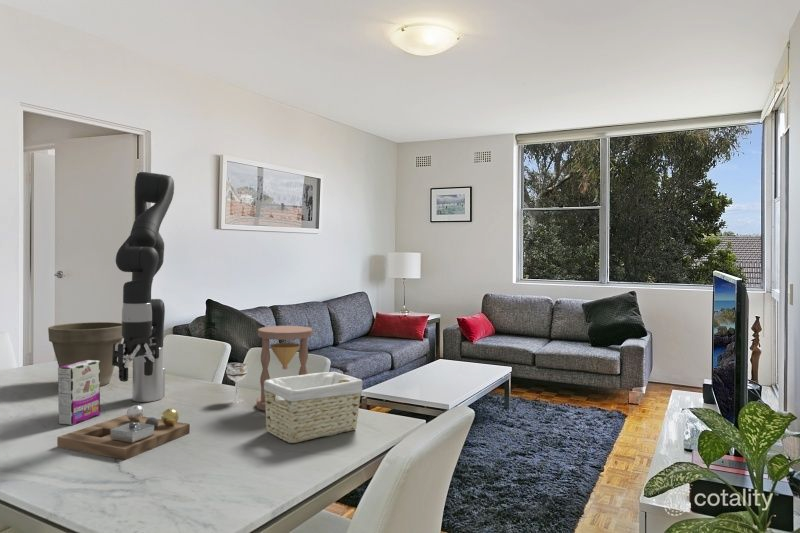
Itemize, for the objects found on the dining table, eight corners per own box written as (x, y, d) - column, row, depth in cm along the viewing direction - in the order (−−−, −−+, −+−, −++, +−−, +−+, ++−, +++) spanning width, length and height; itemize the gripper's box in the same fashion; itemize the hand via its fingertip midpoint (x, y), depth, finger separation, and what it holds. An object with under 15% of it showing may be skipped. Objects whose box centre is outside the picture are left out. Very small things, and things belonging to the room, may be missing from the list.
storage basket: (332, 417, 173) (333, 369, 173) (364, 430, 161) (365, 379, 161) (260, 432, 158) (261, 379, 157) (289, 448, 146) (290, 390, 145)
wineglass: (250, 399, 192) (250, 363, 192) (242, 404, 186) (243, 367, 185) (230, 398, 193) (231, 362, 193) (222, 403, 186) (223, 366, 186)
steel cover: (132, 430, 147) (132, 417, 147) (154, 434, 145) (154, 421, 145) (110, 438, 141) (110, 425, 141) (132, 442, 138) (132, 428, 138)
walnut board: (127, 423, 163) (127, 414, 163) (189, 433, 155) (189, 423, 155) (57, 446, 142) (57, 436, 142) (125, 459, 135) (125, 449, 135)
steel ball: (135, 418, 160) (135, 402, 159) (147, 420, 158) (148, 404, 158) (122, 422, 155) (123, 406, 155) (135, 424, 154) (135, 408, 154)
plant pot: (52, 379, 215) (53, 321, 214) (125, 374, 225) (125, 320, 224) (42, 394, 192) (43, 330, 191) (124, 389, 202) (124, 328, 202)
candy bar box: (86, 413, 171) (86, 359, 171) (100, 415, 170) (101, 360, 170) (56, 424, 160) (57, 366, 160) (72, 425, 159) (72, 367, 159)
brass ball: (169, 421, 157) (169, 406, 157) (182, 423, 155) (182, 407, 155) (157, 426, 153) (157, 410, 152) (170, 428, 151) (170, 411, 151)
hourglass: (305, 397, 197) (306, 324, 196) (316, 410, 180) (318, 331, 180) (253, 400, 190) (254, 326, 190) (259, 414, 174) (261, 333, 174)
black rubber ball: (151, 427, 152) (151, 415, 152) (160, 428, 151) (161, 416, 151) (142, 430, 149) (142, 418, 149) (151, 432, 148) (151, 419, 148)
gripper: (126, 322, 148) (126, 384, 148) (166, 317, 162) (166, 374, 162) (105, 321, 151) (104, 382, 151) (146, 316, 164) (145, 372, 164)
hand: (136, 378), depth 156 cm, fingers open, 8 cm apart
